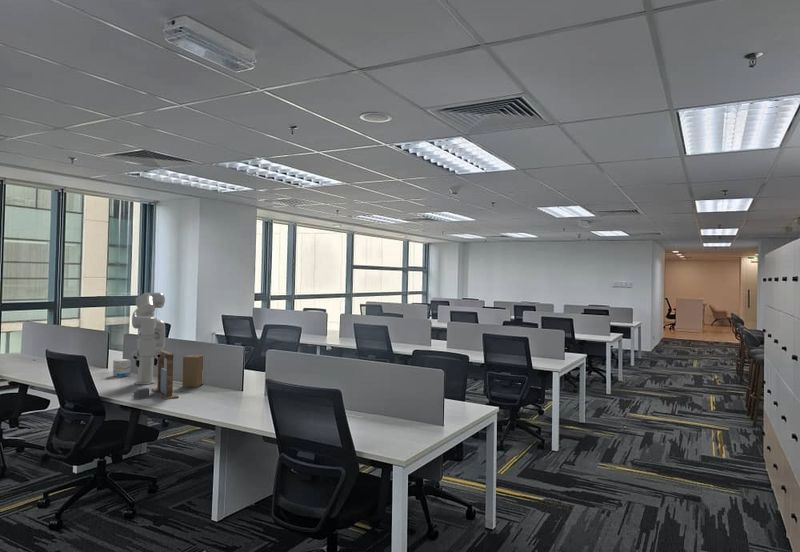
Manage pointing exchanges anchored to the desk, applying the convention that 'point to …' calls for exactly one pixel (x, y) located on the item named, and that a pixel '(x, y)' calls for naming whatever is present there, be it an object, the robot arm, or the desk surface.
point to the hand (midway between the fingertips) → (146, 366)
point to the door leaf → (163, 380)
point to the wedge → (142, 393)
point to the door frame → (169, 375)
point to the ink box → (121, 367)
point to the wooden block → (192, 370)
